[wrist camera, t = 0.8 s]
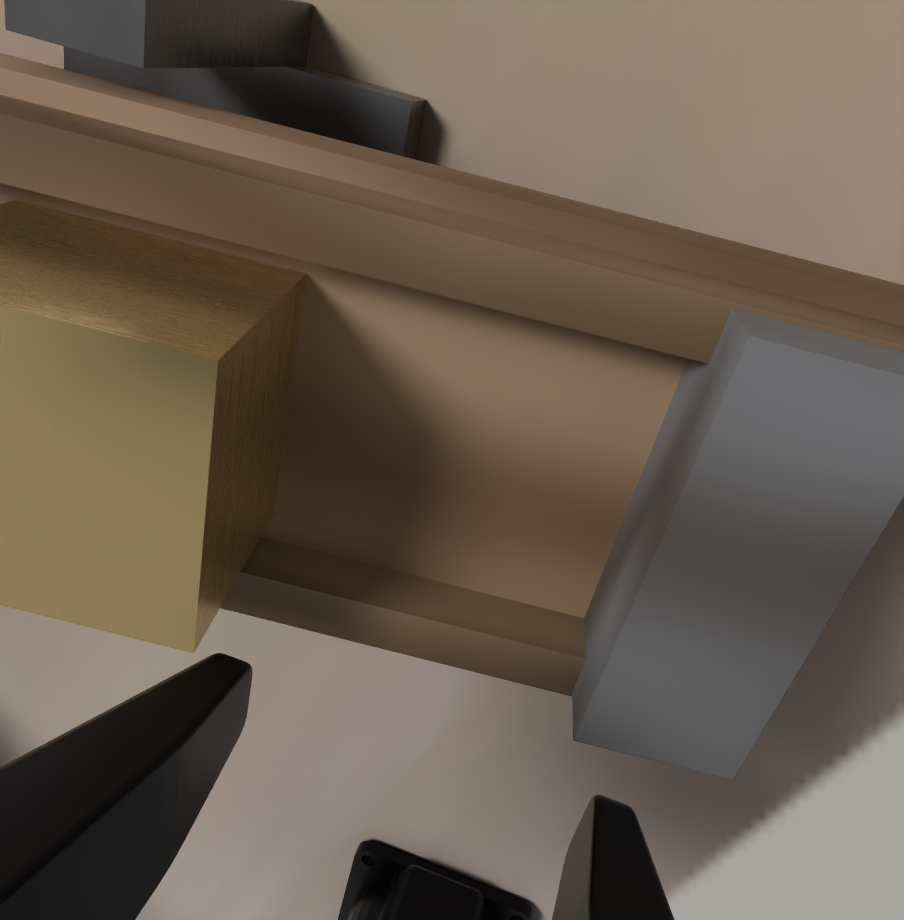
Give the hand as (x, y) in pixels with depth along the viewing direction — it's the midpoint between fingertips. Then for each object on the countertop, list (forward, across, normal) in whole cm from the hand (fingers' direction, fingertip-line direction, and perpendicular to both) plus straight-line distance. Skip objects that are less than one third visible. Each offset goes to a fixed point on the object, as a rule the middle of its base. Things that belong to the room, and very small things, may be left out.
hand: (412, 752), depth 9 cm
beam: (+7, +8, 0) cm, 11 cm away
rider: (+6, +7, 0) cm, 9 cm away
